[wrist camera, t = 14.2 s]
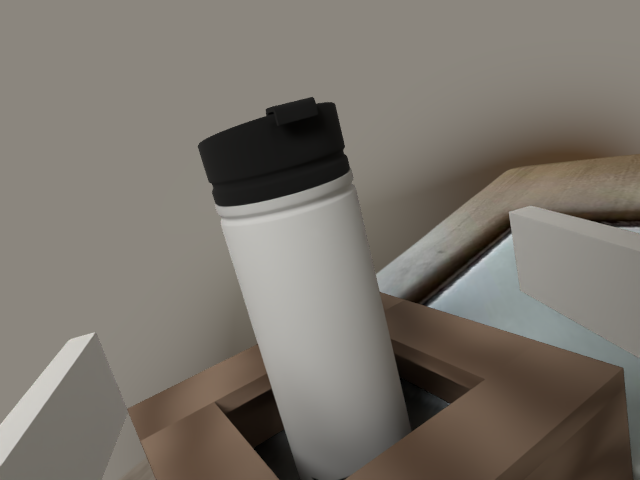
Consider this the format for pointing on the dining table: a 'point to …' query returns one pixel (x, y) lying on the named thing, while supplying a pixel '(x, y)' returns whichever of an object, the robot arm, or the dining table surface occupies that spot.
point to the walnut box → (432, 436)
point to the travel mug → (309, 285)
